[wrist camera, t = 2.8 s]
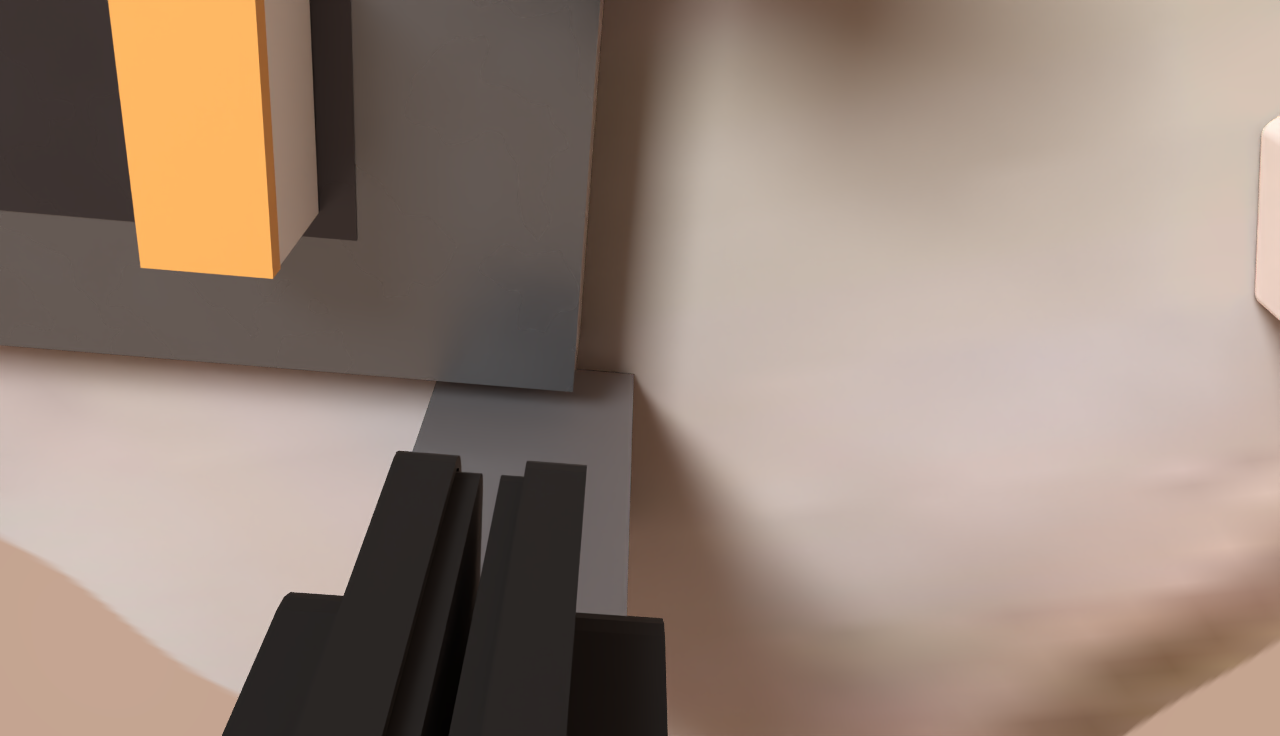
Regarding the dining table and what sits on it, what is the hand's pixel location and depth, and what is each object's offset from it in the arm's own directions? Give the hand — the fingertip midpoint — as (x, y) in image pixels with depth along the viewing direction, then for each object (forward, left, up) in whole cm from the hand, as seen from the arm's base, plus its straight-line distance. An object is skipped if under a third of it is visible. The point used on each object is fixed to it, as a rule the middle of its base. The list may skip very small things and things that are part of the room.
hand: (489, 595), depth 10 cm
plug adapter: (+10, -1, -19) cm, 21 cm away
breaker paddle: (0, -7, -16) cm, 17 cm away
